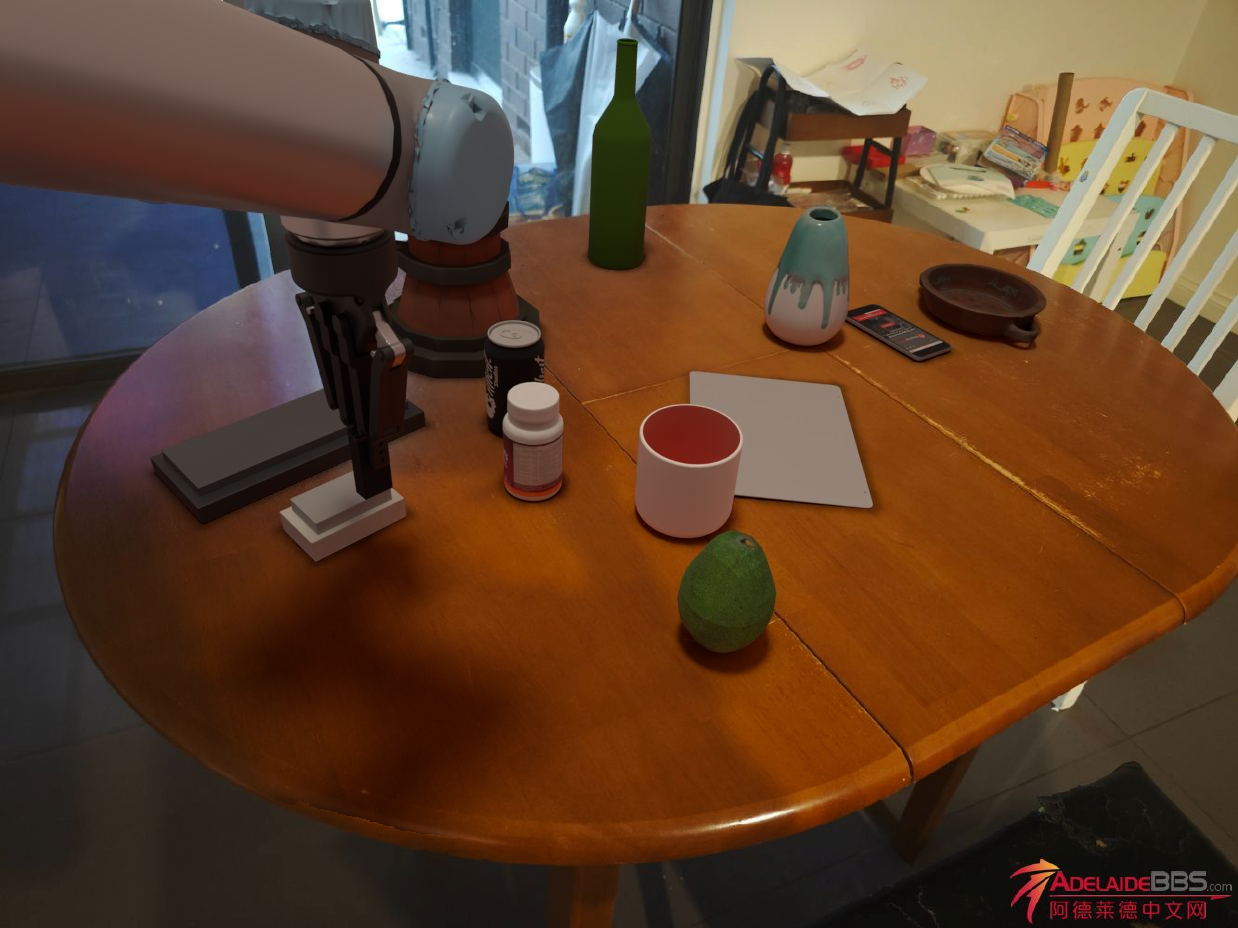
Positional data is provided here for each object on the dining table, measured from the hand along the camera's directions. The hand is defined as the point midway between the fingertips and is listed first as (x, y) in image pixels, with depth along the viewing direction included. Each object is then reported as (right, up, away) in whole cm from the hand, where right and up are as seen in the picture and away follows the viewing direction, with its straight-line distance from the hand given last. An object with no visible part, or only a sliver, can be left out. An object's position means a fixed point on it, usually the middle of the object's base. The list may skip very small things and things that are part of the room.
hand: (374, 489), depth 74 cm
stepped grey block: (-6, -4, +10) cm, 12 cm away
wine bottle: (+21, +36, +65) cm, 77 cm away
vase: (+47, +21, +48) cm, 70 cm away
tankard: (-2, +20, +41) cm, 46 cm away
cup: (+28, -3, +14) cm, 31 cm away
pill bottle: (+12, 0, +17) cm, 21 cm away
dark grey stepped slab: (-14, +4, +19) cm, 24 cm away
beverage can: (+9, +7, +26) cm, 28 cm away
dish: (+75, +25, +56) cm, 97 cm away
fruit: (+30, -13, +1) cm, 33 cm away
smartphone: (+61, +21, +49) cm, 81 cm away
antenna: (+37, +6, +27) cm, 46 cm away
